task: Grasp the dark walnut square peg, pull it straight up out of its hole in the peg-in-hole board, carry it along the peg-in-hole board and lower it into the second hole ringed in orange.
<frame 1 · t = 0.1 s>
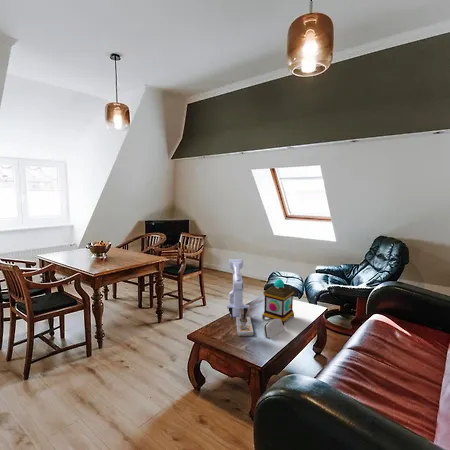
hand: (238, 318, 196), 10 cm above the table, fingers open, 7 cm apart
peg-in-hole board: (244, 327, 205), on the table
walnut peg: (243, 323, 211), resting in peg-in-hole board
decorative lantern: (278, 318, 218), on the table
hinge: (273, 333, 197), on the table
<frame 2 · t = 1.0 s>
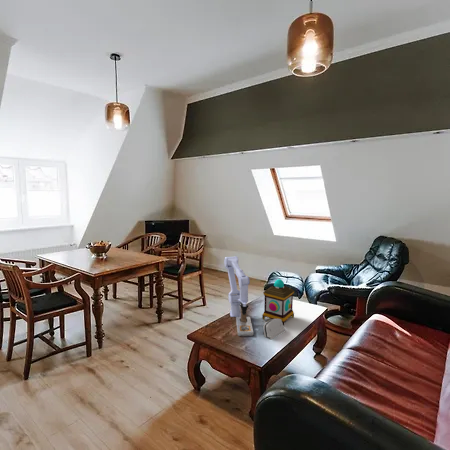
hand: (243, 312, 209), 8 cm above the table, fingers open, 7 cm apart
nothing on the table moved.
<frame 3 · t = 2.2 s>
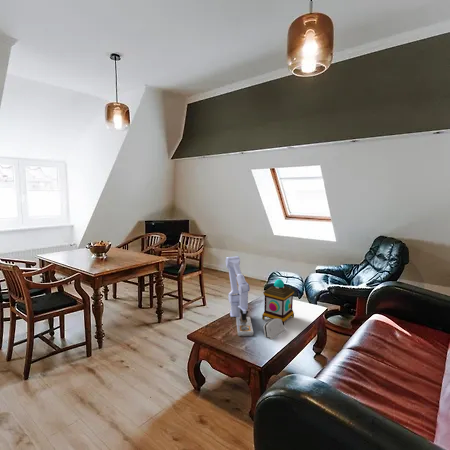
hand: (243, 318, 210), 3 cm above the table, fingers closed on walnut peg, 4 cm apart
walnut peg: (243, 323, 211), resting in peg-in-hole board, touching gripper
everything else where it was.
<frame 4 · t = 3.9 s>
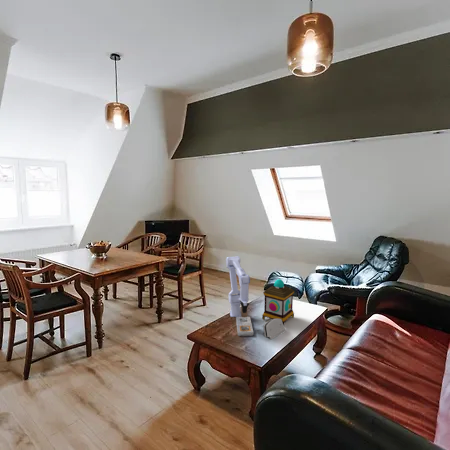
hand: (244, 311, 206), 11 cm above the table, fingers closed on walnut peg, 4 cm apart
walnut peg: (244, 316, 206), point 7 cm above the table, touching gripper
everything else where it was.
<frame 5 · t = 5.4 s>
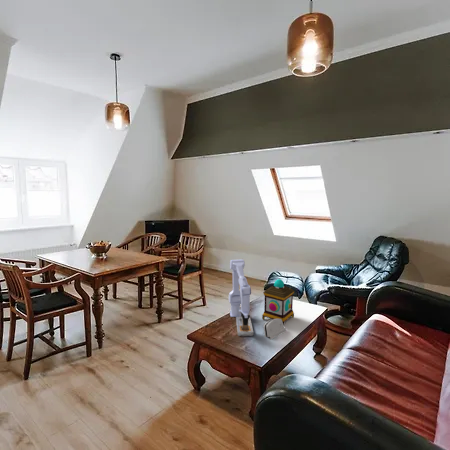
hand: (245, 323, 198), 6 cm above the table, fingers closed on walnut peg, 4 cm apart
walnut peg: (245, 328, 198), point 2 cm above the table, touching gripper
everything else where it was.
when the fingers open (5 cm above the table, at t = 6.1 s): walnut peg drops 1 cm, resting in peg-in-hole board.
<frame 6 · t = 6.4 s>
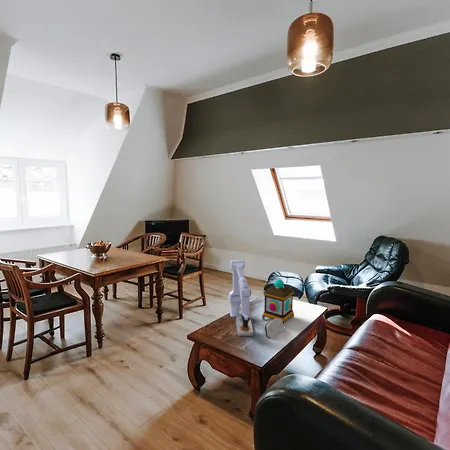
hand: (245, 324, 198), 5 cm above the table, fingers open, 6 cm apart
walnut peg: (245, 331, 199), resting in peg-in-hole board
everything else where it was.
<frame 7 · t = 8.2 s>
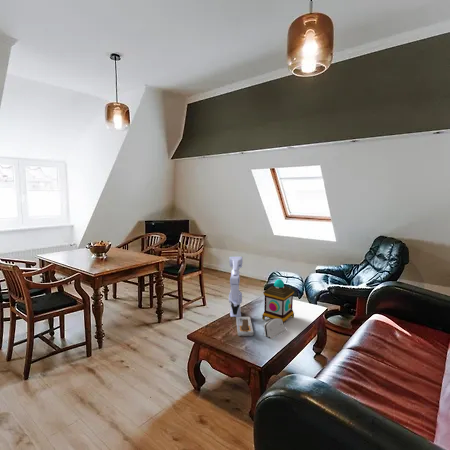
hand: (234, 311, 205), 10 cm above the table, fingers open, 7 cm apart
nothing on the table moved.
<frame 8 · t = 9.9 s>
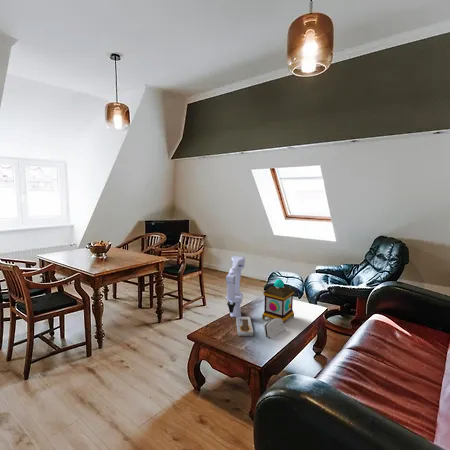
hand: (230, 310, 208), 10 cm above the table, fingers open, 7 cm apart
nothing on the table moved.
at the end: walnut peg 0.1 cm from the target spot on the peg-in-hole board, point 0.0 cm above the peg-in-hole board's base; walnut peg tilted 0°; the gripper is holding nothing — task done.
